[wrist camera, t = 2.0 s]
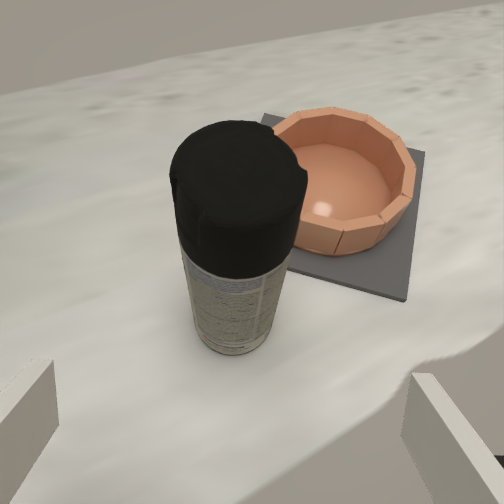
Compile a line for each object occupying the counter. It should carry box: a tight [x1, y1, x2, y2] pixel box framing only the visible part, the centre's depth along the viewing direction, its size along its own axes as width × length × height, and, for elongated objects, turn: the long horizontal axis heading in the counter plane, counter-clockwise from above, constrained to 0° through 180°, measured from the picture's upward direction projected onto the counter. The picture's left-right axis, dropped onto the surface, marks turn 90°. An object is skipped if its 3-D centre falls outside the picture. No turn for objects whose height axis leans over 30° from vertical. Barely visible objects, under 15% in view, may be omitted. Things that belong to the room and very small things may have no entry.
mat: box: [260, 113, 425, 302], centre depth 44 cm, size 18×18×1 cm
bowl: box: [272, 107, 416, 257], centre depth 42 cm, size 14×14×5 cm
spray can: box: [169, 120, 308, 355], centre depth 29 cm, size 7×7×20 cm
